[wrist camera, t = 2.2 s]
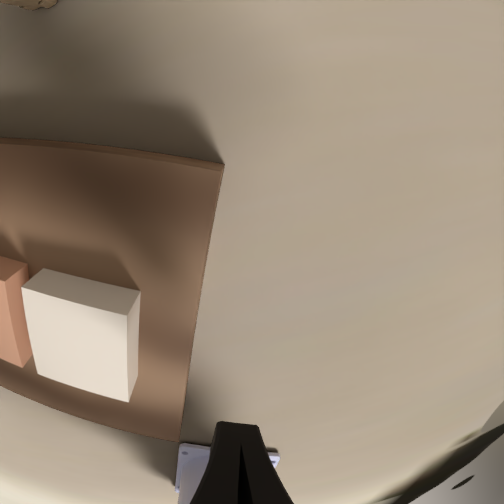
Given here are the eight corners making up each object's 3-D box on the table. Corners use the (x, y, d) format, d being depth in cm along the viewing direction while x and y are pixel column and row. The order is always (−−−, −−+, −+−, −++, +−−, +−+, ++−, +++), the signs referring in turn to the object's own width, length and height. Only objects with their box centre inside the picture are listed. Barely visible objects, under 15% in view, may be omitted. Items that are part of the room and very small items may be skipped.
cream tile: (138, 375, 15) (128, 402, 13) (53, 351, 14) (37, 374, 12) (140, 291, 13) (127, 315, 11) (43, 268, 12) (21, 286, 11)
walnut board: (183, 409, 20) (178, 442, 17) (2, 354, 18) (-16, 377, 15) (224, 164, 14) (221, 171, 11) (-19, 137, 13) (-52, 142, 10)
